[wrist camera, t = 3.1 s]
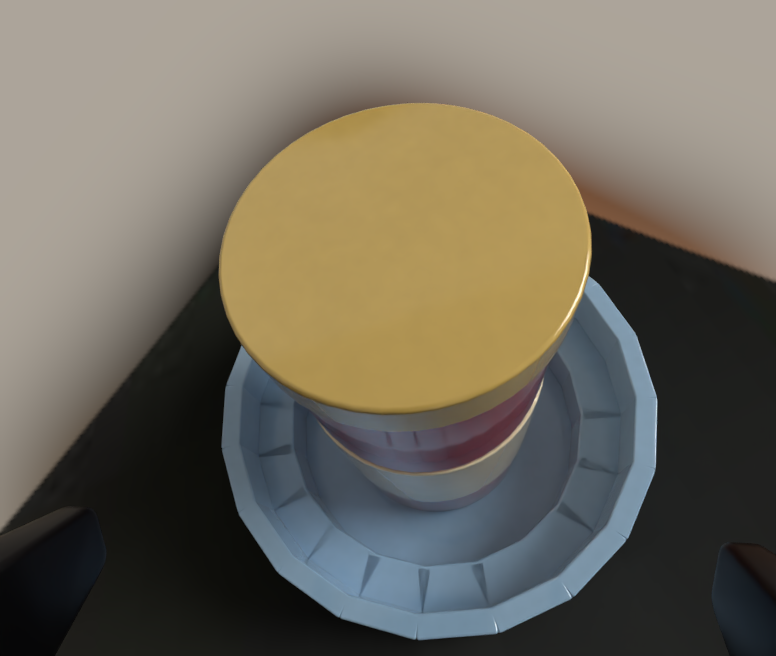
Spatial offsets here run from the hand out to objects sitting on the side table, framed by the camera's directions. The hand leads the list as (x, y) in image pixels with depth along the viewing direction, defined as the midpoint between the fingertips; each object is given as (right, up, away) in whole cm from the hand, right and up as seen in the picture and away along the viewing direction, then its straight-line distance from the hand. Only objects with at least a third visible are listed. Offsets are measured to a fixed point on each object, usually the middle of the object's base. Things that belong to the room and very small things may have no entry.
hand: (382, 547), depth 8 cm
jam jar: (+2, 0, +12) cm, 12 cm away
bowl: (+2, -1, +12) cm, 12 cm away
